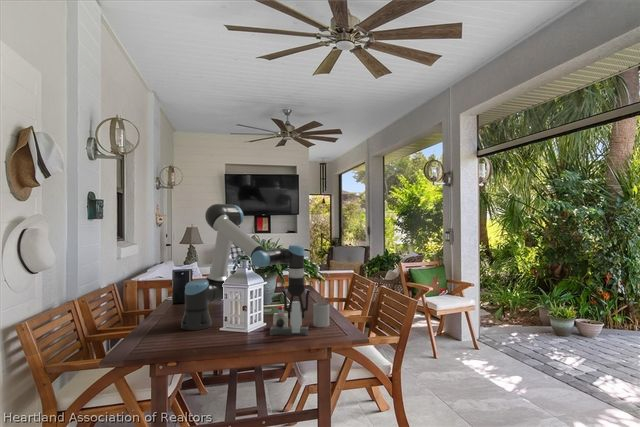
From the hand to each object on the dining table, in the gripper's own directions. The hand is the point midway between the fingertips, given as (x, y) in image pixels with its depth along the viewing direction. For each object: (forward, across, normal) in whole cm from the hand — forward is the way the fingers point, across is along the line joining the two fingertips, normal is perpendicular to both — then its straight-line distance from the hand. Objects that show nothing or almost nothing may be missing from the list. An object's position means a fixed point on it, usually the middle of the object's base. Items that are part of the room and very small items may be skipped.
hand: (296, 324), depth 186 cm
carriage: (+3, 0, 0) cm, 3 cm away
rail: (+4, -3, 0) cm, 6 cm away
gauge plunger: (0, -8, +9) cm, 13 cm away
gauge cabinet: (+4, -8, +10) cm, 13 cm away
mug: (+5, +13, +17) cm, 22 cm away
